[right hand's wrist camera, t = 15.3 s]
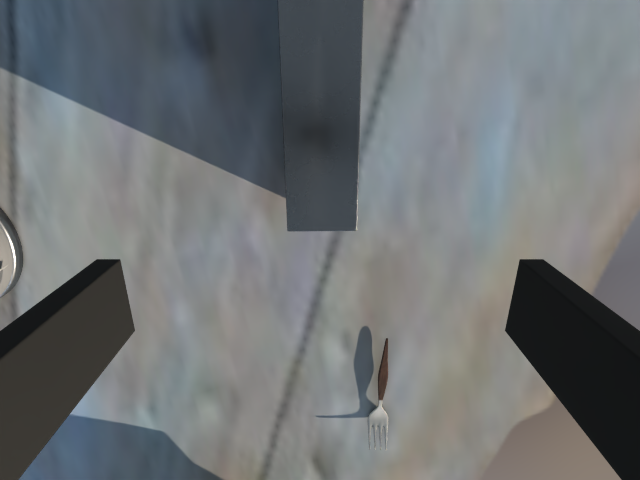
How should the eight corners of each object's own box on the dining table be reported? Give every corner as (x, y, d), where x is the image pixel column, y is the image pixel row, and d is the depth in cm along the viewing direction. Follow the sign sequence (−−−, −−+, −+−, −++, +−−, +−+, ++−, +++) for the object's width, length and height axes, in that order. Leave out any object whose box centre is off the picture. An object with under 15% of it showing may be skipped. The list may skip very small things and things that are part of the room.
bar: (349, 202, 39) (357, 230, 31) (294, 202, 39) (287, 231, 31) (356, -172, 28) (371, -277, 20) (281, -171, 28) (265, -276, 20)
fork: (397, 336, 44) (400, 346, 43) (385, 437, 50) (388, 450, 48) (375, 335, 44) (377, 346, 43) (365, 437, 50) (367, 450, 48)
